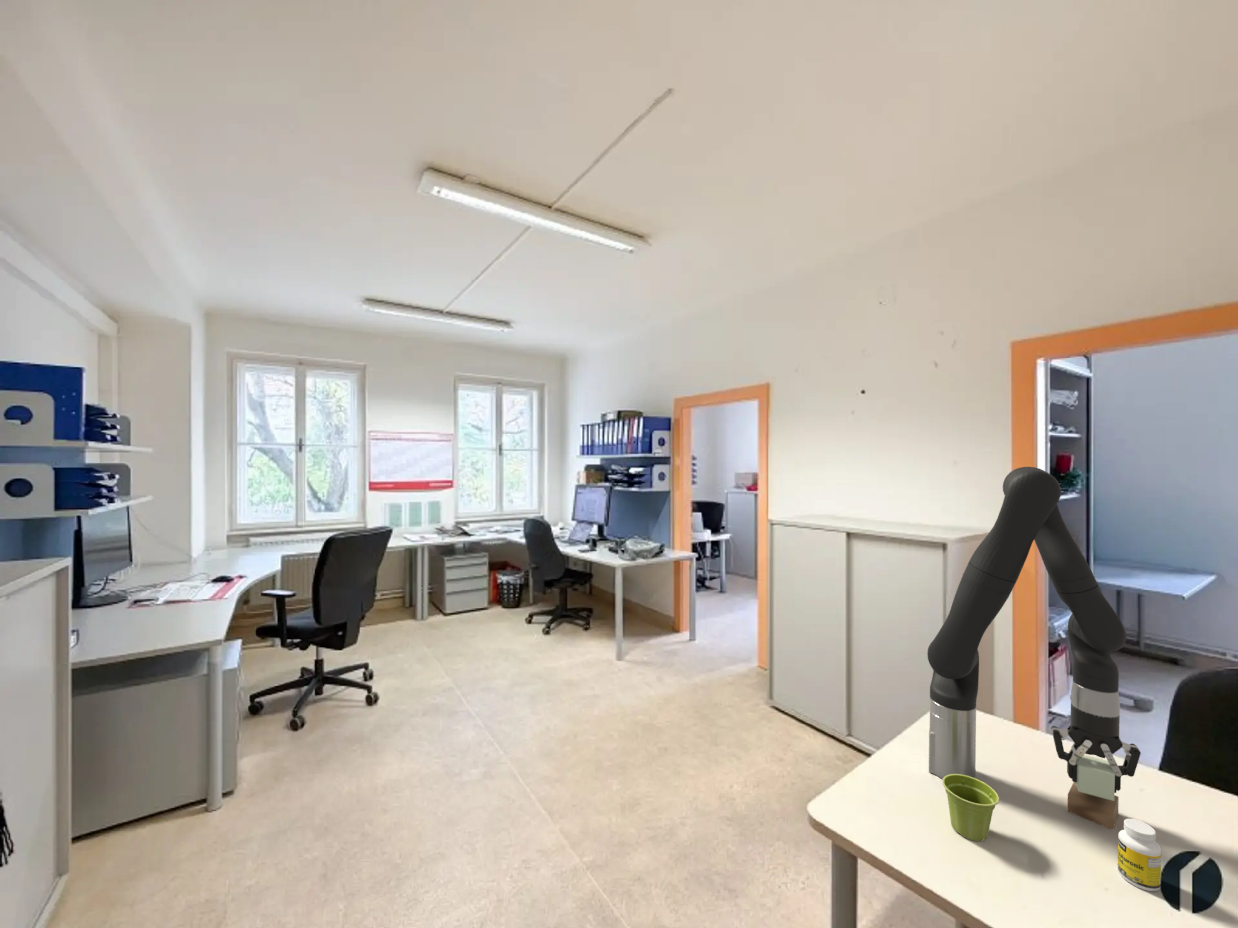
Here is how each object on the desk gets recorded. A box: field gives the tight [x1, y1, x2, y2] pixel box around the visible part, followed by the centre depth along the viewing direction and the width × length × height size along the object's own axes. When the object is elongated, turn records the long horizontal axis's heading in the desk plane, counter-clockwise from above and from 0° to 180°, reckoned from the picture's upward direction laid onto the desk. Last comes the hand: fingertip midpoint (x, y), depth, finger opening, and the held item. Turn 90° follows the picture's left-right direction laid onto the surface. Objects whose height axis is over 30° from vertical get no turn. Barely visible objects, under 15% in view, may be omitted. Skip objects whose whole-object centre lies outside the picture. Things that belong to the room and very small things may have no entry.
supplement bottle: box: [1117, 818, 1162, 892], centre depth 91 cm, size 5×5×10 cm
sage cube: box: [1075, 754, 1115, 801], centre depth 108 cm, size 6×6×6 cm
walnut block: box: [1067, 781, 1120, 831], centre depth 108 cm, size 7×7×4 cm
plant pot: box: [942, 774, 1000, 842], centre depth 103 cm, size 9×9×9 cm
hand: (1093, 784), depth 108 cm, fingers closed on sage cube, 5 cm apart
